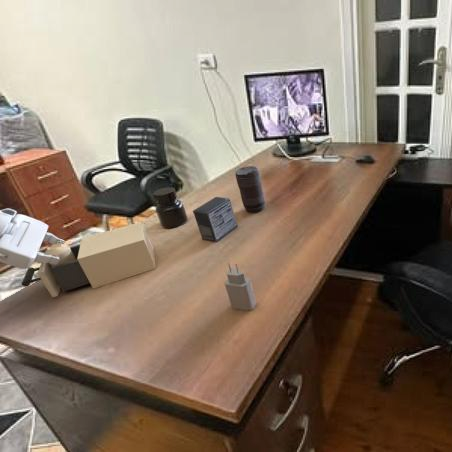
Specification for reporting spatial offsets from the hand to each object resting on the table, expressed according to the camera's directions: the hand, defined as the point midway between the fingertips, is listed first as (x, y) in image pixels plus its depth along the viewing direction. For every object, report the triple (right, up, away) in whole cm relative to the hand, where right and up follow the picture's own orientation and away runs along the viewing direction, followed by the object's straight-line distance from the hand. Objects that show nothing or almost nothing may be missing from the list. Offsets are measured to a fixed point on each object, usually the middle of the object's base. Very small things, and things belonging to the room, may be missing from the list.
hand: (61, 252), depth 91 cm
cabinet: (+11, -5, +9) cm, 15 cm away
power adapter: (+50, -12, -9) cm, 52 cm away
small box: (+34, +4, +22) cm, 41 cm away
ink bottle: (+15, +8, +32) cm, 36 cm away
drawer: (+1, -8, +4) cm, 9 cm away
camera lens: (+43, +13, +36) cm, 57 cm away
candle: (0, -7, +4) cm, 8 cm away
